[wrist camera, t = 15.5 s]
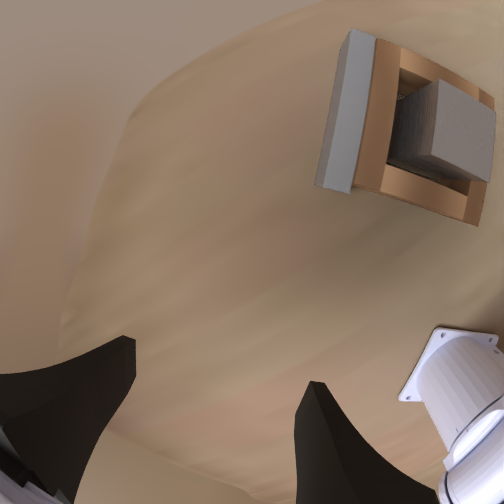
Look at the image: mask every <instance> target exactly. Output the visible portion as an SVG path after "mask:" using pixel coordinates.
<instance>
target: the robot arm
mask: <svg viewBox="0 0 504 504" xmlns="http://www.w3.org/2000/svg"><path fill="white" fill-rule="evenodd" d="M442 333H443V334H442ZM441 334H442V335H441ZM498 340H499V337H498V336H497V335H496V334H487V333H479V332H471V331H463V330H455V329H448V328H441V327H438V328H436V329H435V330H434V331H433V333H432V335H431V338H430V340H429V342H428V344H427V346H426V348H425V350H424V352H423V354H422V356H421V358H420V360H419V361H418V363H417V365H416V367H415V369H414V371H413V372H412V374H411V376H410V378H409V380H408V381H407V383H406V385H405V386H404V388H403V390H402V391H401V393H400V395H399V400H400V401H423V403H424V405H425V406H426V408H427V410H428V412H429V414H430V416H431V418H432V420H433V422H434V424H435V426H436V428H437V430H438V432H439V434H440V436H441V438H442V440H443V442H444V444H445V446H446V449H447V451H448V453H449V454H448V456H447V457H446V458H445V459H444V460H443V463H444V465H445V468H446V471H445V472H444V473H443V474H442V476H441V478H440V482H439V498H440V502H441V504H504V354H503V353H502V352H501V351H500V350H499V349H498V348H497V347H496V344H497V342H498ZM135 377H136V340H135V339H132V338H129V337H126V336H124V335H122V336H120V337H118V338H116V339H114V340H112V341H110V342H108V343H106V344H104V345H102V346H100V347H98V348H96V349H93V350H91V351H89V352H87V353H85V354H83V355H80V356H78V357H75V358H73V359H71V360H68V361H66V362H63V363H60V364H57V365H54V366H50V367H47V368H43V369H38V370H33V371H28V372H22V373H12V374H0V504H74V500H75V497H76V493H77V490H78V487H79V484H80V481H81V478H82V476H83V473H84V470H85V468H86V465H87V463H88V460H89V458H90V456H91V454H92V451H93V449H94V447H95V445H96V443H97V441H98V439H99V437H100V435H101V433H102V432H103V430H104V428H105V427H106V425H107V424H108V422H109V421H110V419H111V418H112V416H113V415H114V413H115V412H116V411H117V409H118V408H119V406H120V405H121V403H122V402H123V400H124V399H125V397H126V395H127V394H128V392H129V390H130V388H131V386H132V384H133V382H134V380H135ZM294 441H295V455H296V469H297V496H296V504H439V501H438V498H437V495H436V492H435V490H433V489H431V488H429V487H427V486H425V485H423V484H421V483H419V482H417V481H415V480H413V479H412V478H410V477H409V476H407V475H405V474H404V473H402V472H401V471H400V470H398V469H397V468H395V467H394V466H393V465H392V464H390V463H389V462H388V461H387V460H385V459H384V458H383V457H382V456H381V455H380V454H378V453H377V452H376V451H375V450H374V449H373V448H372V447H371V446H370V445H369V444H368V443H367V441H366V440H365V439H364V438H363V437H362V436H361V435H360V433H359V432H358V431H357V430H356V429H355V427H354V426H353V425H352V423H351V422H350V421H349V419H348V418H347V417H346V415H345V414H344V412H343V411H342V409H341V408H340V406H339V405H338V403H337V402H336V400H335V399H334V397H333V396H332V394H331V392H330V391H329V389H328V388H327V386H326V385H325V383H322V382H314V381H310V382H309V385H308V387H307V389H306V391H305V394H304V396H303V398H302V400H301V403H300V405H299V407H298V409H297V411H296V414H295V427H294Z"/></svg>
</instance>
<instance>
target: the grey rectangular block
mask: <svg viewBox="0 0 504 504" xmlns="http://www.w3.org/2000/svg"><path fill="white" fill-rule="evenodd" d="M495 124H496V112H494V111H493V110H492V109H490V108H489V107H487V106H486V105H484V104H483V103H481V102H479V101H478V100H476V99H475V98H473V97H471V96H470V95H468V94H466V93H465V92H463V91H461V90H460V89H458V88H456V87H454V86H453V85H451V84H449V83H447V82H445V81H443V80H441V79H437V80H435V81H433V82H432V83H430V84H428V85H426V86H424V87H422V88H421V89H419V90H417V91H415V92H413V93H412V94H410V95H408V96H406V97H404V98H403V99H401V100H399V101H397V102H396V106H395V113H394V120H393V127H392V133H391V139H390V145H389V150H388V155H387V161H386V162H388V163H391V164H393V165H396V166H399V167H402V168H405V169H407V170H410V171H413V172H415V173H418V174H420V175H423V176H425V177H428V178H442V179H455V180H467V181H477V182H486V183H489V181H490V174H491V167H492V159H493V150H494V140H495Z"/></svg>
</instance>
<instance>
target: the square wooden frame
mask: <svg viewBox="0 0 504 504" xmlns="http://www.w3.org/2000/svg"><path fill="white" fill-rule="evenodd" d="M437 79H441V80H443V81H445V82H447V83H449V84H451V85H453V86H454V87H456V88H458V89H460V90H461V91H463V92H465V93H466V94H468V95H470V96H471V97H473V98H475V99H476V100H478V101H479V102H481V103H483V104H484V105H486V106H487V107H489V108H490V109H492V110H493V111H494V98H493V97H492V96H490V95H489V94H487V93H486V92H484V91H483V90H481V89H480V88H478V87H477V86H475V85H474V84H472V83H470V82H469V81H467V80H465V79H464V78H462V77H460V76H459V75H457V74H455V73H453V72H452V71H450V70H448V69H446V68H444V67H442V66H440V65H439V64H437V63H435V62H433V61H431V60H429V59H427V58H424V57H422V56H420V55H418V54H416V53H414V52H411V51H409V50H407V49H405V48H402V47H400V46H397V45H395V44H392V43H390V42H387V41H385V40H382V39H379V38H377V39H376V41H375V46H374V56H373V64H372V72H371V80H370V87H369V94H368V101H367V107H366V113H365V119H364V125H363V130H362V136H361V141H360V146H359V152H358V157H357V161H356V166H355V171H354V176H353V180H352V185H351V186H355V187H358V188H362V189H365V190H369V191H372V192H375V193H379V194H382V195H385V196H388V197H391V198H395V199H398V200H401V201H404V202H407V203H410V204H413V205H416V206H418V207H421V208H424V209H427V210H430V211H433V212H435V213H438V214H441V215H443V216H446V217H449V218H452V219H456V220H459V221H462V222H465V223H468V224H471V225H474V226H477V227H478V224H479V220H480V216H481V212H482V207H483V202H484V197H485V192H486V186H487V183H486V182H477V181H467V180H455V179H442V178H439V182H438V183H435V182H433V181H430V180H428V179H425V178H423V177H420V176H418V175H415V174H412V173H410V172H407V171H404V170H401V169H398V168H396V167H393V166H390V165H387V164H386V161H387V155H388V150H389V145H390V139H391V133H392V127H393V120H394V113H395V106H396V98H397V93H399V94H401V95H404V96H408V95H410V94H412V93H413V92H415V91H417V90H419V89H421V88H422V87H424V86H426V85H428V84H430V83H432V82H433V81H435V80H437Z"/></svg>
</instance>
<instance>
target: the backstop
mask: <svg viewBox="0 0 504 504" xmlns="http://www.w3.org/2000/svg"><path fill="white" fill-rule="evenodd" d="M374 46H375V36H374V35H371V34H368V33H365V32H362V31H359V30H355V29H352V28H351V30H350V32H349V33H348V35H347V37H346V39H345V41H344V43H343V45H342V47H341V49H340V53H339V59H338V65H337V71H336V77H335V83H334V88H333V94H332V100H331V105H330V110H329V116H328V121H327V126H326V131H325V136H324V141H323V146H322V151H321V155H320V160H319V165H318V169H317V174H316V179H315V183H314V185H316V186H320V187H324V188H328V189H331V190H335V191H339V192H343V193H347V194H349V193H350V189H351V185H352V180H353V176H354V171H355V166H356V161H357V157H358V152H359V146H360V141H361V136H362V130H363V125H364V119H365V113H366V107H367V101H368V94H369V87H370V80H371V72H372V64H373V56H374Z"/></svg>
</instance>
